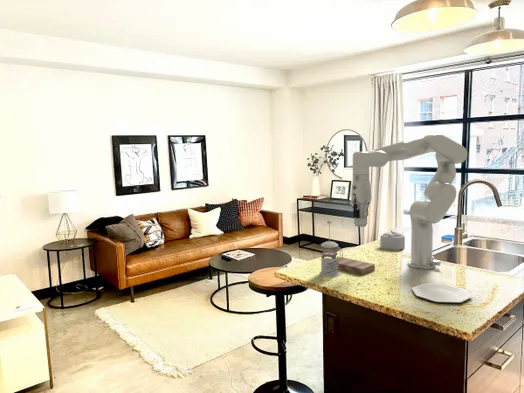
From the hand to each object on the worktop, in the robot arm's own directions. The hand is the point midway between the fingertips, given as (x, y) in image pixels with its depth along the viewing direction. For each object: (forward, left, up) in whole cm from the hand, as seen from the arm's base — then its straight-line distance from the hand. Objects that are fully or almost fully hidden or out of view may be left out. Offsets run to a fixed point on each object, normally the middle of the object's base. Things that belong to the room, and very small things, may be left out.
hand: (360, 216), depth 180 cm
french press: (+7, +14, -26) cm, 30 cm away
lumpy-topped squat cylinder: (+11, -49, -26) cm, 56 cm away
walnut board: (+5, +1, -26) cm, 26 cm away
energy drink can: (0, 0, -5) cm, 5 cm away
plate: (-40, +6, -26) cm, 48 cm away
